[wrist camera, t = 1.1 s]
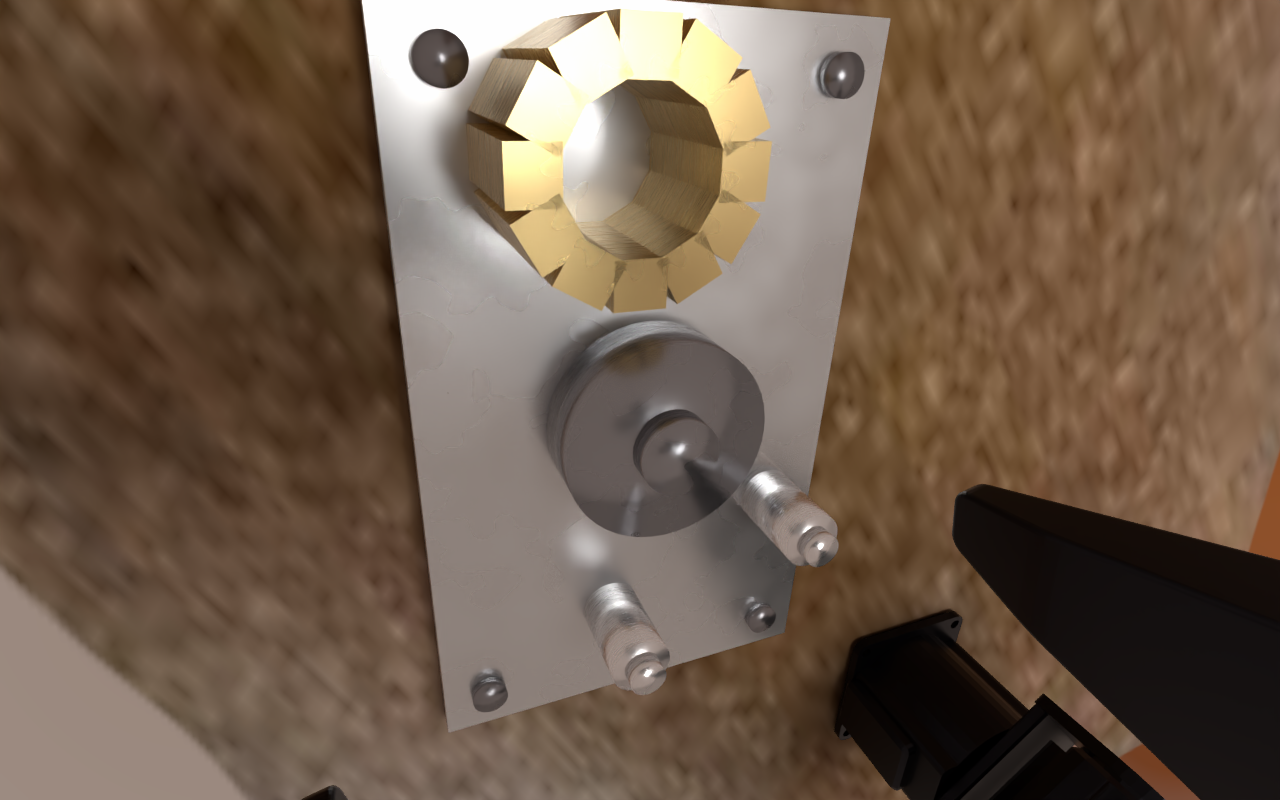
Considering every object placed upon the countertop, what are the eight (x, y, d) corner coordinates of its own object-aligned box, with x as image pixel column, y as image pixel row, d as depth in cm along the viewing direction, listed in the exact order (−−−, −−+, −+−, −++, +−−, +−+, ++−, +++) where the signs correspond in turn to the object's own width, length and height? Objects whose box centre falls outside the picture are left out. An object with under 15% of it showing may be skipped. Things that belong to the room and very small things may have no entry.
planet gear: (698, 25, 18) (785, 20, 14) (682, 259, 20) (753, 300, 17) (458, 9, 15) (495, -1, 12) (475, 273, 18) (510, 323, 15)
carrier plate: (871, 19, 20) (992, 12, 17) (774, 619, 30) (836, 697, 27) (357, -21, 15) (369, -43, 12) (445, 715, 25) (466, 826, 22)
